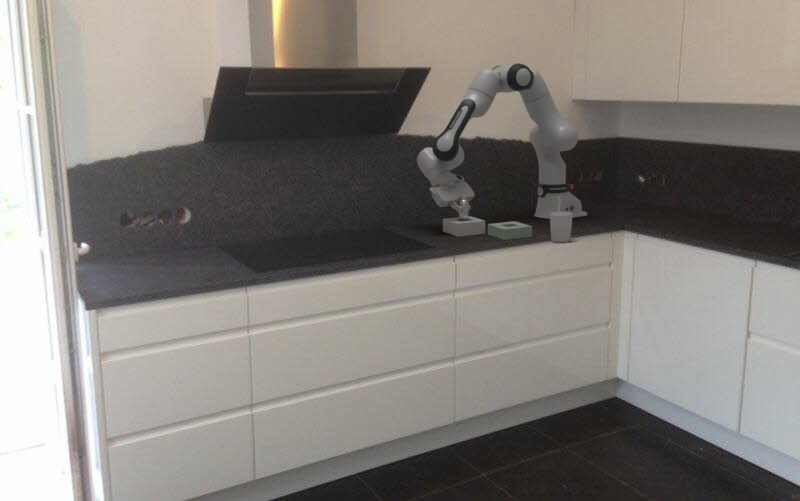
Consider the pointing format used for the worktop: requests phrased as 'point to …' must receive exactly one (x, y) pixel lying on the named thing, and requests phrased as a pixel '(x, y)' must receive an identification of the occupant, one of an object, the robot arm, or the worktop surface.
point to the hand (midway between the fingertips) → (465, 210)
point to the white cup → (560, 226)
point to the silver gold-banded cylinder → (464, 204)
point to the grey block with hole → (464, 226)
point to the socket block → (509, 230)
